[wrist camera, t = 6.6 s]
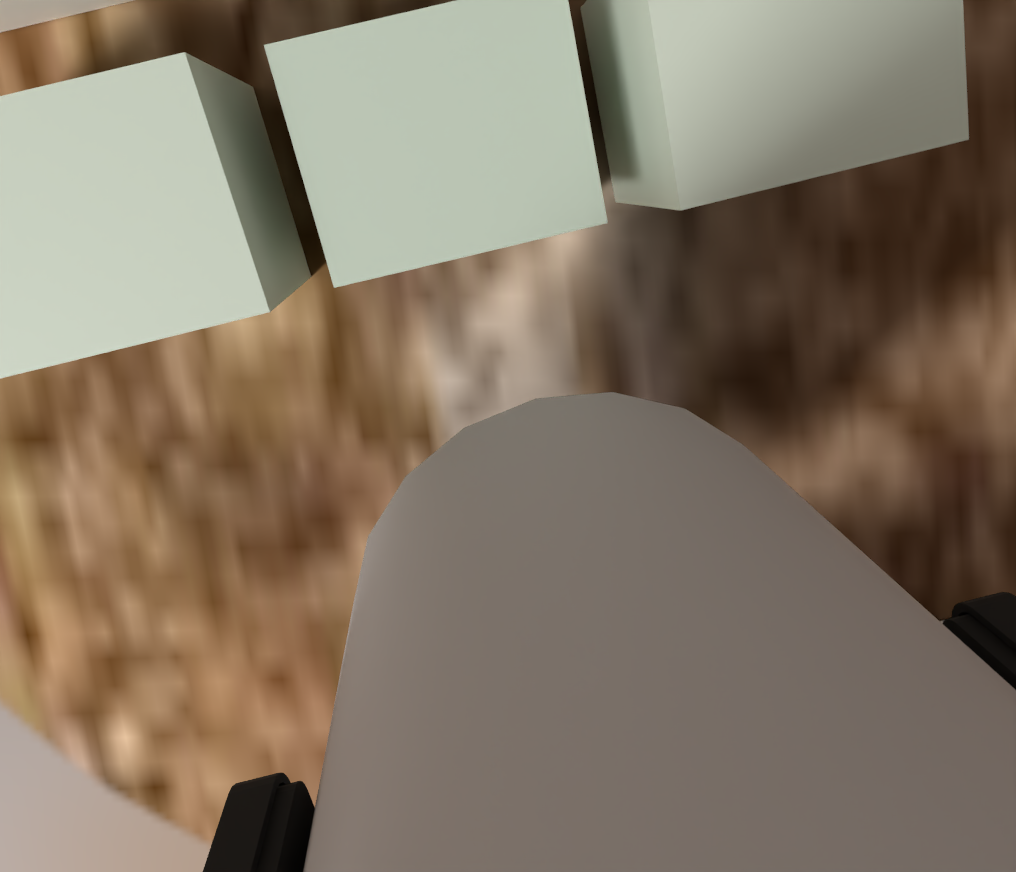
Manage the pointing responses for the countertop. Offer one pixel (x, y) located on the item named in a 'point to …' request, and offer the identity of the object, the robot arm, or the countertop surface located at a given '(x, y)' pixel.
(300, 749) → the countertop surface
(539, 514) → the can
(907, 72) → the offcut
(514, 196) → the offcut mid
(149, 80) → the offcut
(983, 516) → the countertop surface
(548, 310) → the countertop surface
